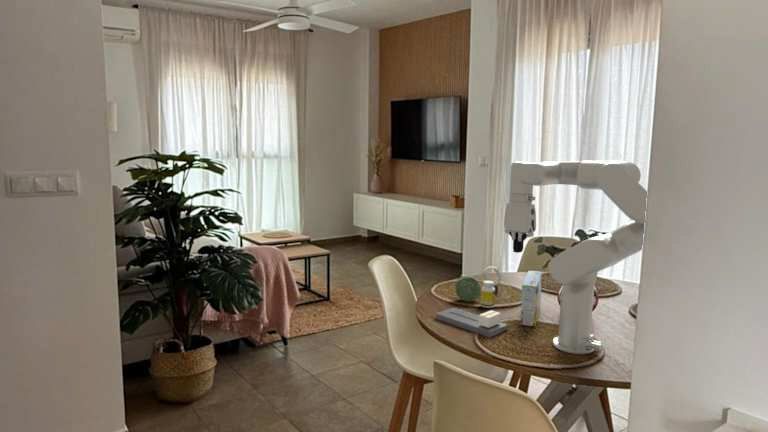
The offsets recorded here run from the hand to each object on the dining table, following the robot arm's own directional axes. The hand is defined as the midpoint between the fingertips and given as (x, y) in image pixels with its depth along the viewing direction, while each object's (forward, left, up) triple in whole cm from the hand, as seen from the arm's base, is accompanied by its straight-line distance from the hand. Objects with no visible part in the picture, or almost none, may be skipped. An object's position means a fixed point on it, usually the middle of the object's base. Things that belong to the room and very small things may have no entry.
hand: (517, 251), depth 177 cm
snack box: (+2, -14, -27) cm, 31 cm away
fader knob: (+4, +9, -25) cm, 26 cm away
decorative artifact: (+28, -10, -27) cm, 40 cm away
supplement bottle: (+20, -12, -27) cm, 36 cm away
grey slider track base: (+12, +9, -27) cm, 31 cm away
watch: (+30, -29, -27) cm, 50 cm away
